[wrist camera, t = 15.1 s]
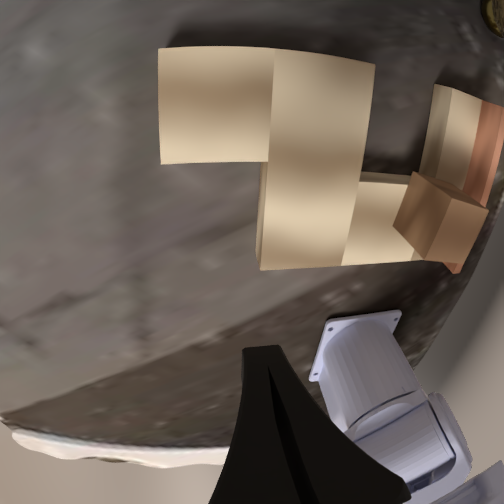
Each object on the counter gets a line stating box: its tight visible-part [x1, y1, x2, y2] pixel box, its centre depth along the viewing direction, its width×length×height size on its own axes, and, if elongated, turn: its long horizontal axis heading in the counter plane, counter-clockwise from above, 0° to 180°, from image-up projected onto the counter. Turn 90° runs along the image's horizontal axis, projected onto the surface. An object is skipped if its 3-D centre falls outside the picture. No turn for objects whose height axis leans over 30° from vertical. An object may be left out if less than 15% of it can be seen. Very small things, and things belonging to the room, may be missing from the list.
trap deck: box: [158, 46, 504, 274], centre depth 17 cm, size 13×21×4 cm, turn 87°
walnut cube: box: [392, 171, 489, 264], centre depth 17 cm, size 4×4×4 cm
